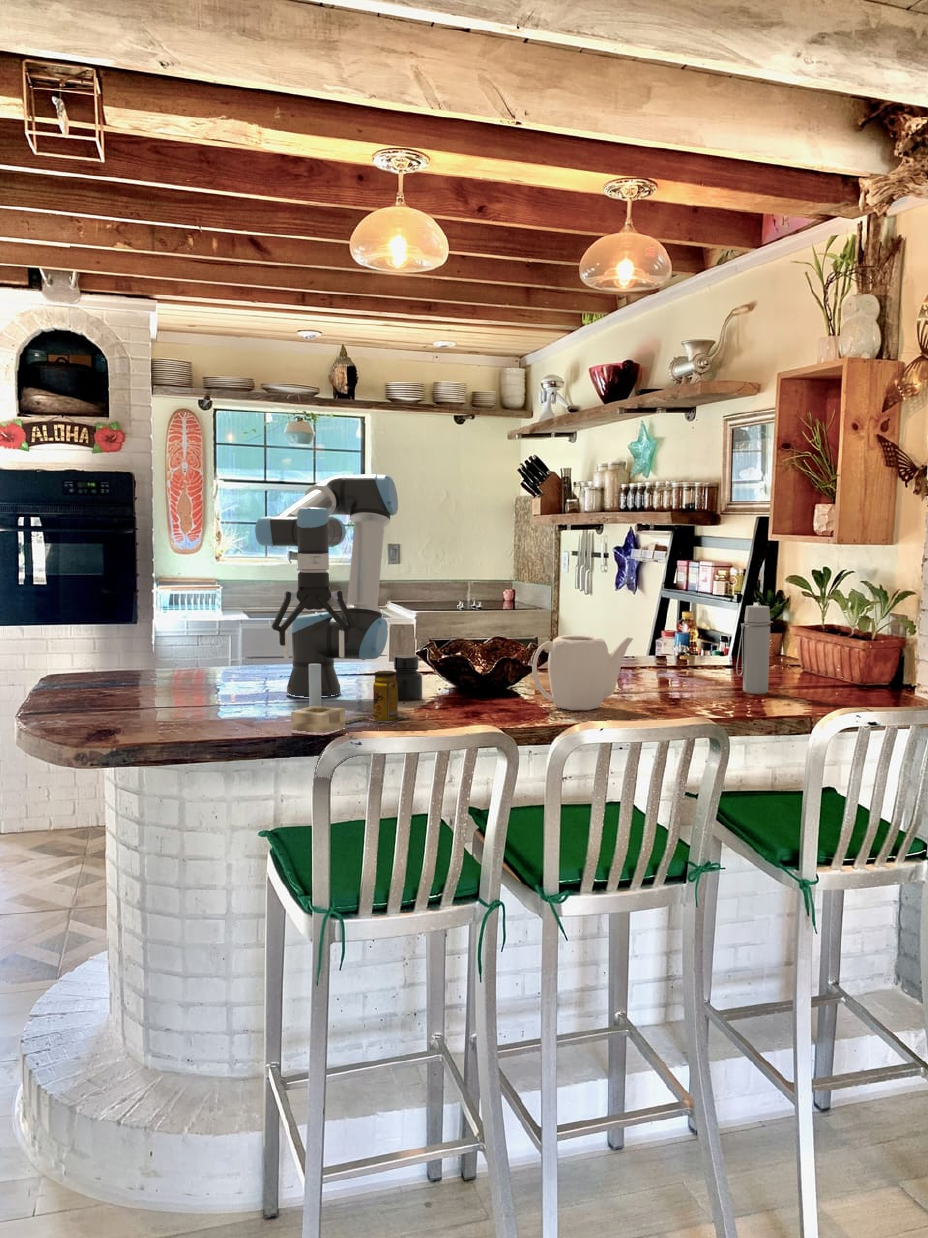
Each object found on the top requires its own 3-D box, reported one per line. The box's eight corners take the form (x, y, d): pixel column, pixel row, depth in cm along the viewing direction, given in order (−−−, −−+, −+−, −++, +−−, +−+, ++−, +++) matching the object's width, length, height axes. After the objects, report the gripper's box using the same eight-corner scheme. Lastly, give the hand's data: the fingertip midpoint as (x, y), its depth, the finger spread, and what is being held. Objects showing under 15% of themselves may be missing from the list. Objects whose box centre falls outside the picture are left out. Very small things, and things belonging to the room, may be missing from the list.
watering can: (637, 713, 248) (639, 640, 246) (534, 713, 248) (535, 640, 246) (626, 702, 264) (627, 633, 262) (529, 702, 263) (529, 633, 261)
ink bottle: (395, 695, 274) (395, 653, 273) (425, 696, 272) (425, 654, 271) (386, 701, 264) (385, 658, 263) (417, 702, 262) (417, 659, 261)
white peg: (307, 721, 238) (306, 664, 236) (314, 718, 240) (313, 663, 239) (317, 722, 236) (316, 665, 235) (324, 720, 239) (323, 664, 238)
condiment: (366, 719, 240) (365, 672, 238) (390, 714, 246) (389, 668, 245) (387, 723, 235) (386, 675, 234) (410, 718, 241) (410, 671, 240)
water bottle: (765, 690, 282) (768, 605, 279) (771, 695, 274) (774, 607, 272) (733, 690, 283) (735, 605, 280) (738, 694, 275) (740, 607, 273)
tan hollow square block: (291, 733, 224) (291, 711, 223) (314, 725, 232) (313, 705, 231) (323, 737, 220) (323, 715, 219) (345, 729, 228) (345, 708, 227)
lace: (337, 726, 232) (337, 722, 232) (334, 725, 232) (334, 722, 232) (366, 719, 240) (365, 716, 240) (363, 718, 240) (363, 715, 240)
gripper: (263, 572, 227) (264, 661, 229) (367, 571, 235) (367, 657, 237) (259, 571, 234) (260, 657, 236) (360, 570, 242) (361, 654, 244)
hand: (314, 658), depth 237 cm, fingers open, 13 cm apart
